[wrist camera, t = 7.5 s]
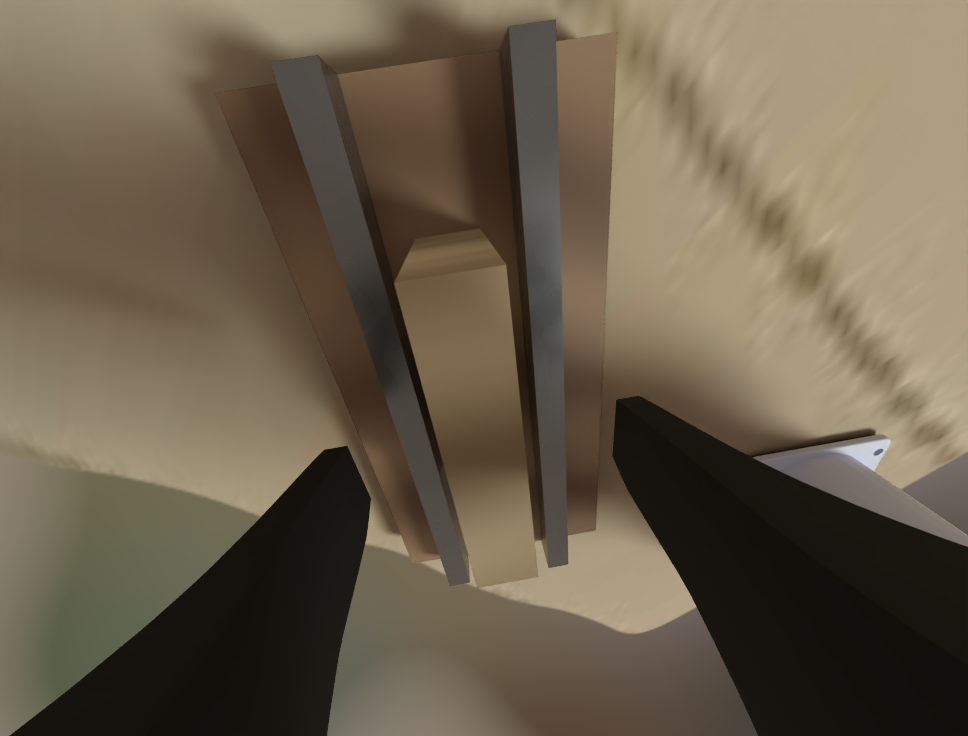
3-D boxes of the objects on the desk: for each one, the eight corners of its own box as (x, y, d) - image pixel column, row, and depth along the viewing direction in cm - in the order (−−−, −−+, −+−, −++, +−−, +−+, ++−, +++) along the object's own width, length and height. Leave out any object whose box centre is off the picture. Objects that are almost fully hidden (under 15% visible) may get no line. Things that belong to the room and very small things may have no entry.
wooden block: (511, 463, 15) (538, 576, 11) (468, 471, 15) (477, 587, 11) (480, 228, 10) (506, 264, 6) (415, 238, 10) (393, 283, 6)
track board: (585, 506, 20) (607, 557, 17) (415, 537, 19) (410, 593, 17) (594, 51, 10) (649, 5, 7) (246, 104, 10) (171, 77, 7)
